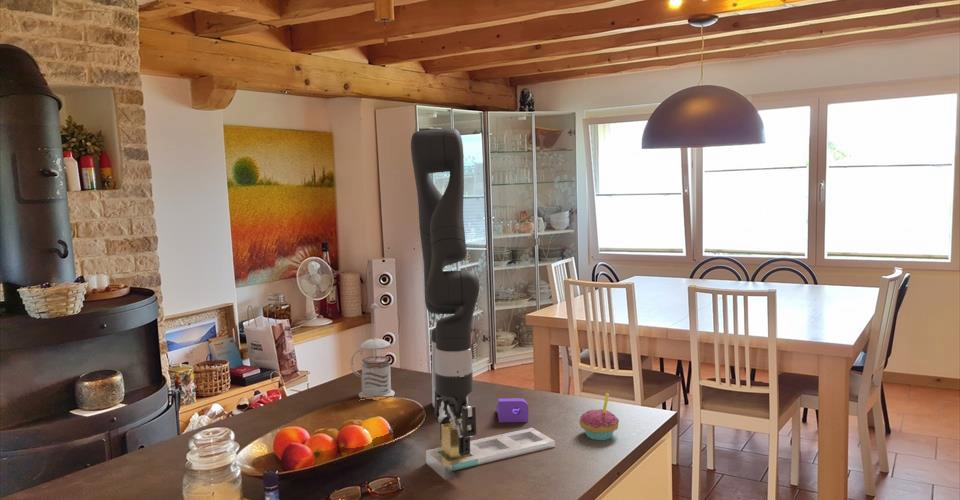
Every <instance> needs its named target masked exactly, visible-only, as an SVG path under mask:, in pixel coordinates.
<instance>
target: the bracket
mask: <svg viewBox="0 0 960 500" xmlns="http://www.w3.org/2000/svg"><path fill="white" fill-rule="evenodd" d="M497 401H498V403H497V404H496V411H495V412H496V414H497V418H498V423H528V422H529V405H528V402H527V401H526V399H524V398H521V397H520V398H519V397H517V398H516V397H515V398H513V397H511V398H498V400H497Z"/></svg>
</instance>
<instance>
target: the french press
mask: <svg viewBox="0 0 960 500" xmlns="http://www.w3.org/2000/svg"><path fill="white" fill-rule="evenodd" d="M370 308H371V309H373V320H374V323H373V324H374V325H373V326H374V327H376V309H377V308H379V305H378V304H377V303H371V305H370ZM376 333H377V332H374V338H369V339H368V340H366V341H364V342H362V343H361V344H360V349H359V348H358V350H356V351H355V352H354V353H353V354H352V356H351V359H350V367H351V368H350V369H351V370H352V372H353V374H354V375H356V376H357V377H359V378H360V380H361V381H360V383H361V391H360V392H359V393H358V397H359V398H360V399H362V397H374V396H392V397H394V395H395V393H396V392H395V391H394V390H393V389H392V383H391V381H392V379H391V376H392V375H391V363H390V362H389V361H390V358H389V357H388V356H385V355H377V350H385V349H387V348H390V347H391V343H390V342H389V341H387V340H385V339H382V338H377V337H376V335H377V334H376ZM363 349H364V350H368V351H370V350H373V351H374V355H372V356H371V355H370V356H366V357H364V358H363V359H362V365H361V373H359V372H357V370H356V369H355V367H354V357H355V355H356V354H357V353H360V356H362V355H363ZM372 366H373V367H372ZM378 366H380V367H378ZM370 367H371V368H370ZM382 377H383V378H382Z"/></svg>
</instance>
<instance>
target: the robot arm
mask: <svg viewBox="0 0 960 500" xmlns="http://www.w3.org/2000/svg"><path fill="white" fill-rule="evenodd" d="M410 154H411V161H412V166H413V167H412V168H413V174H414V175H413V176H414V179H415V187H416V194H417V205H418V225H419V235H420V243H421V249H422V260H423V274H424V275H423V277H424V281H423V282H424V302H425V307H426V310H427V311H428V312H429V313H430V314H433V315H449V316H446V317H442V318H440V319H438V320H437V321H436V324H435V327H434V328H433V329H432V330H431V333H430V334H431V335H430V336H431V337H430V338H431V387H432V388H431V389H432V391H431V394H432V398H431V399H432V400H431V401H432V407H433V408H434V417H435V418H437V419H438V420H437V421H438V423H439V436H440V440H441V441H442V429H441V424H446V423H451V422H452V423H453V426H454V427H456V428H457V431H458V435H459V437H458V442H459V454H460V455H461V456H463V455H468V454H469V453H470V441H471V437H475V436H477V418H476V417H477V416H476V412H477V411H476V407H475V405H469V395H470V394H471V393H472V392H473V391H474V390H473V389H474V388H473V386H474V382H473V378H474V377H473V354H472V353H473V352H472V334H471V333H472V323H473V322H472V321H473V316H474V313H475V312H474V311H475V308H476V305H477V302H478V301H477V300H478V298H479V295H480V294H479V293H480V286H481V285H480V281H479V277H478V276H477V275H476V273H475V272H474V271H472V270H443V269H444V268H445V267H447V266H450V265H455V264H457V263H460V262H462V261H464V259H466V256H467V243H466V234H465V221H464V198H465V197H464V193H465V192H464V191H465V186H464V185H465V177H464V176H465V165H464V163H465V160H464V157H465V156H464V145H463V138H462V136H461V133H460V132H459V130H457V128H456V129H455V128H437V129H435V128H434V129H425V130H423V129H422V130H417V131H415V132H413V134H412V136H411V139H410ZM448 172H449V178H448V183H447V187H446V188H445V190H444V192H443V194H442V193H441V192H440V191H439V190H438V188H437V186H436V185H435V184H434V182H433V180H432V177H431V175H430V174H435V173H438V174H439V173H448ZM461 426H462V428H461Z"/></svg>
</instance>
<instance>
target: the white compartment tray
mask: <svg viewBox="0 0 960 500" xmlns="http://www.w3.org/2000/svg"><path fill="white" fill-rule="evenodd" d="M551 448H556V441H555V440H554V439H553V438H550V437H549V436H547V435H546V434H544V433H542V432H540V431H538V430H537V429H535V428H533V427H529V428H525V429H519V430H515V431H510V432H505V433H502V434H497V435H492V436H487V437H486V436H485V437H481V438H479V439H473V440H470V453H469V454H468V457H466V458H462V459H457V460H453V461H447V460H446V459H445V458H444V457H443V456H442V446H441V447H436V448H432V449H431V448H429V449H426V450H425V463H426V465H428V467H430V468H431V469H432V470H433V471H434V472H436V473H437V474H438V476H440V477H441V478H442V479H443V480H450V479H454V478H457V477H458V478H459V476H458V475H457V474H456V473H455V472H454V471H457V470H462V469H467V468H471V467H476V466H479V465H484V464H487V463H491V462H495V461H499V460H504V459H509V458H513V457H517V456H520V455H525V454H530V453H533V452H538V451H539V452H540V451H542V450H547V449H551Z"/></svg>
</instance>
